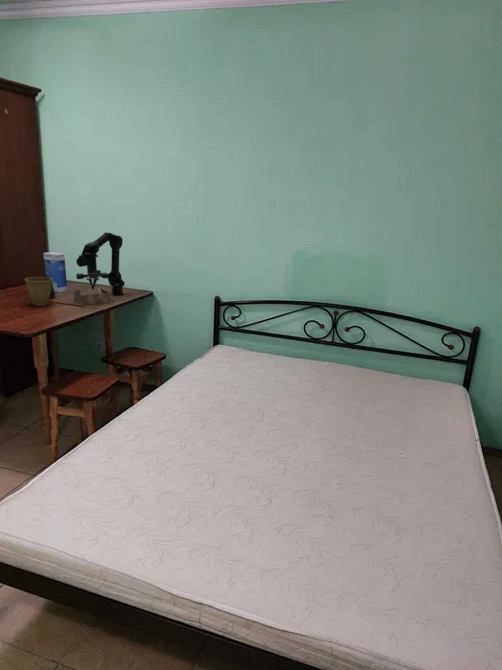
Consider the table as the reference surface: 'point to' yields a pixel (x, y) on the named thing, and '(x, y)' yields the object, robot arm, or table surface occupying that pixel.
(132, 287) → the table surface
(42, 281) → the plant pot
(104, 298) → the crate
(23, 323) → the table surface
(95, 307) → the table surface
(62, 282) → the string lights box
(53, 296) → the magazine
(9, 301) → the table surface
